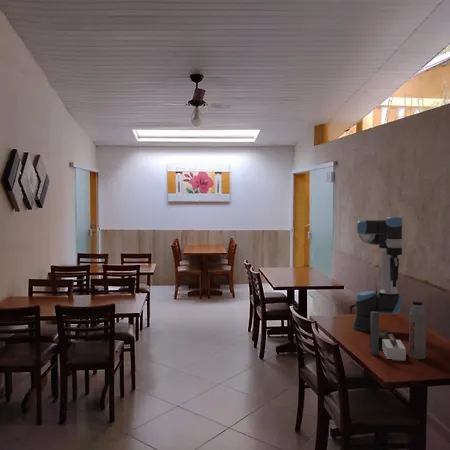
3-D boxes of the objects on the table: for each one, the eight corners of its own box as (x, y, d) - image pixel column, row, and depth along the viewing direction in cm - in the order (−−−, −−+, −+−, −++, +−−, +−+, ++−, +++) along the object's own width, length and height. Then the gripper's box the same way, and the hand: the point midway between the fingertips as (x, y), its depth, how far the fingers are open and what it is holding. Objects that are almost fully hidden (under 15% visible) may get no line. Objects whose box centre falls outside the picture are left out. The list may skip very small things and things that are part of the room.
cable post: (370, 352, 237) (370, 311, 236) (377, 353, 236) (378, 311, 236) (371, 355, 233) (371, 313, 232) (379, 355, 232) (379, 313, 232)
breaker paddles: (389, 340, 238) (387, 334, 238) (393, 338, 237) (391, 333, 237) (392, 345, 228) (390, 340, 228) (397, 344, 228) (395, 338, 228)
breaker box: (382, 350, 241) (382, 339, 241) (400, 351, 239) (400, 339, 239) (386, 359, 226) (386, 347, 226) (405, 360, 225) (405, 348, 224)
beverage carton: (388, 340, 260) (388, 328, 260) (384, 349, 243) (384, 337, 242) (374, 338, 263) (374, 327, 263) (369, 348, 246) (369, 336, 246)
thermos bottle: (413, 359, 226) (414, 304, 225) (406, 354, 234) (406, 300, 233) (428, 358, 227) (429, 303, 226) (420, 353, 235) (421, 300, 234)
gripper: (384, 245, 238) (384, 290, 239) (388, 248, 225) (388, 294, 226) (399, 245, 236) (399, 290, 237) (404, 248, 224) (404, 295, 225)
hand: (393, 292), depth 232 cm, fingers closed
